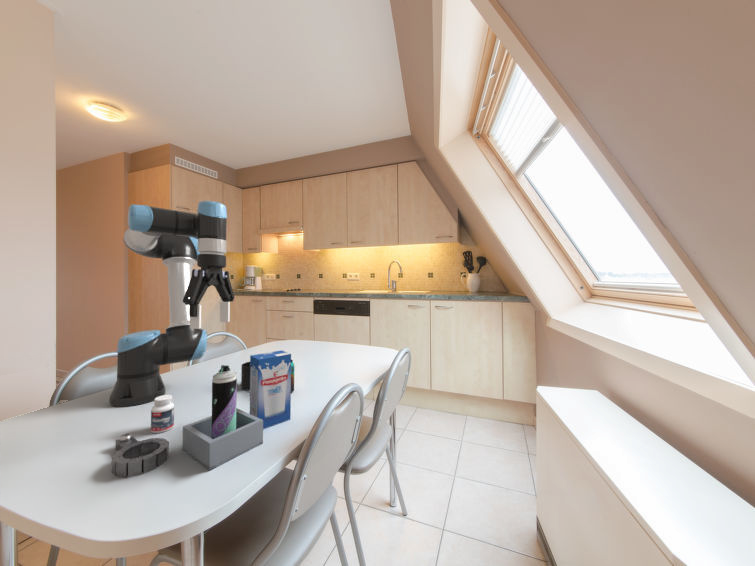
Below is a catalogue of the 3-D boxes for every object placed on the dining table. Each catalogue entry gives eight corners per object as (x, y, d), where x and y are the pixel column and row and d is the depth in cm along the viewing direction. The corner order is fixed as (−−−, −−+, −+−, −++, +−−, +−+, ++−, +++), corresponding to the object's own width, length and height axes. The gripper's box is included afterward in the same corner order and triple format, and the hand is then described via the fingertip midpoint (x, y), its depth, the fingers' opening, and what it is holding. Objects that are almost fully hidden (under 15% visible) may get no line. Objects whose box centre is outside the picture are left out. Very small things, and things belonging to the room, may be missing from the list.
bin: (182, 450, 70) (182, 426, 70) (234, 428, 81) (234, 407, 81) (209, 470, 63) (210, 443, 63) (262, 443, 74) (263, 420, 74)
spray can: (209, 452, 69) (210, 369, 69) (214, 440, 74) (214, 363, 74) (234, 448, 70) (235, 367, 70) (237, 437, 76) (238, 361, 76)
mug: (247, 394, 106) (247, 370, 106) (238, 385, 115) (238, 363, 115) (272, 388, 112) (273, 365, 112) (262, 380, 121) (262, 359, 121)
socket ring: (96, 454, 68) (96, 442, 68) (146, 436, 76) (147, 425, 76) (120, 483, 59) (121, 469, 59) (175, 459, 67) (175, 446, 67)
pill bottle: (148, 435, 77) (148, 402, 77) (153, 426, 82) (153, 395, 82) (172, 431, 80) (172, 399, 80) (175, 422, 84) (175, 392, 84)
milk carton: (281, 412, 91) (281, 350, 91) (290, 419, 87) (291, 353, 87) (249, 423, 84) (249, 355, 84) (257, 431, 80) (258, 359, 80)
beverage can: (275, 397, 104) (275, 364, 104) (274, 390, 110) (274, 359, 110) (295, 394, 106) (295, 362, 106) (292, 388, 113) (293, 357, 113)
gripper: (224, 257, 98) (224, 319, 98) (167, 249, 74) (166, 331, 73) (245, 258, 98) (245, 319, 98) (194, 249, 73) (193, 332, 73)
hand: (211, 325), depth 86 cm, fingers open, 13 cm apart
